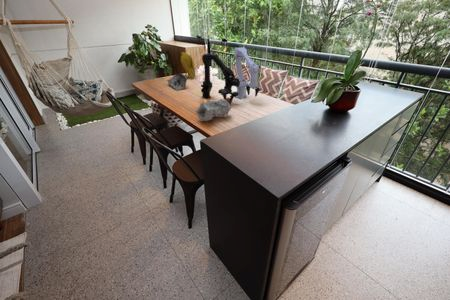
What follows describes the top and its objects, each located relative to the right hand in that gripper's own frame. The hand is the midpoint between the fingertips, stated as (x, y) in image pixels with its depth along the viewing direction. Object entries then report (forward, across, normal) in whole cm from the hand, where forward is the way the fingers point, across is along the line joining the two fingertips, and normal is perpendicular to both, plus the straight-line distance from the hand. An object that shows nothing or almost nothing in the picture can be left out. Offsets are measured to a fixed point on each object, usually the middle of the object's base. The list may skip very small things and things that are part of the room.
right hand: (252, 95), depth 184 cm
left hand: (+6, -18, -12) cm, 23 cm away
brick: (+7, -18, -12) cm, 23 cm away
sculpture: (+7, -111, +34) cm, 116 cm away
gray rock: (+7, -95, -4) cm, 95 cm away
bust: (+7, -8, -46) cm, 48 cm away
